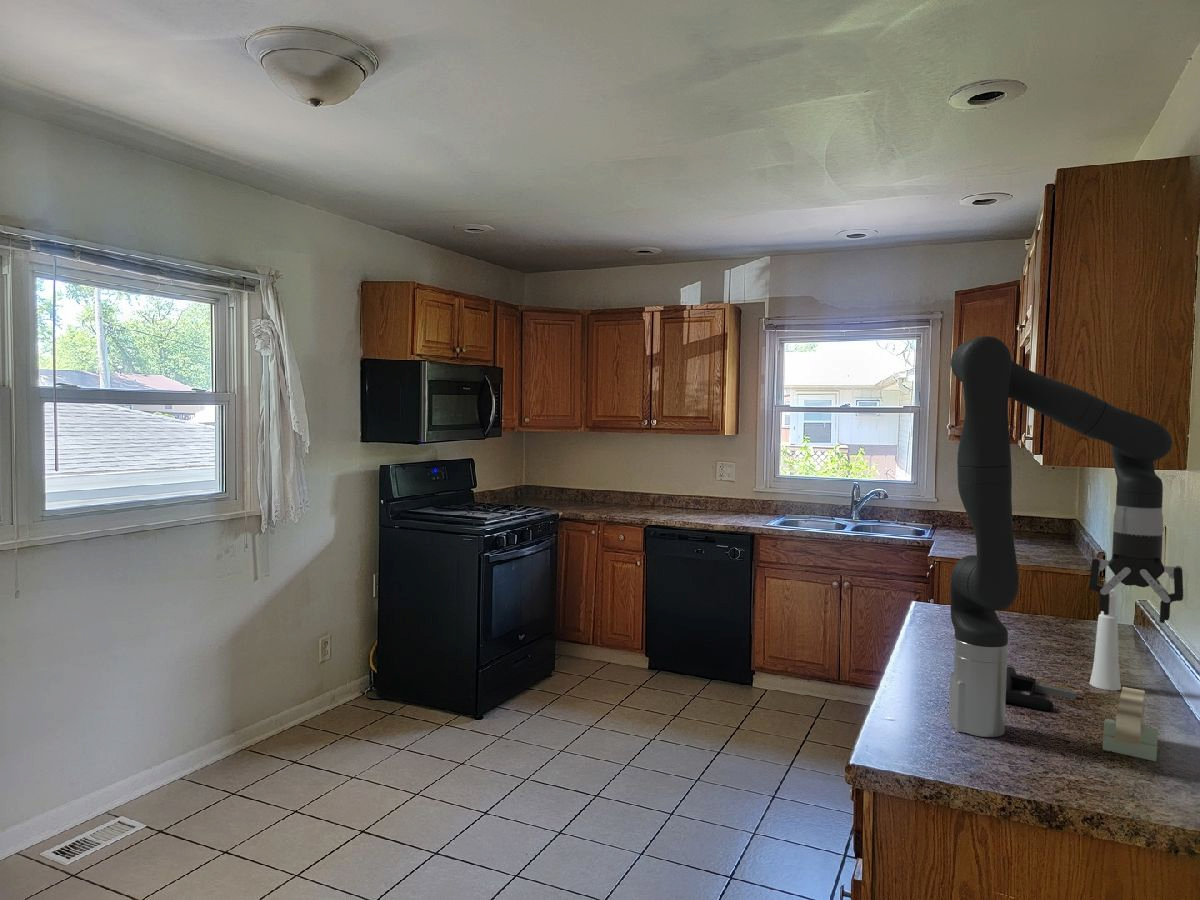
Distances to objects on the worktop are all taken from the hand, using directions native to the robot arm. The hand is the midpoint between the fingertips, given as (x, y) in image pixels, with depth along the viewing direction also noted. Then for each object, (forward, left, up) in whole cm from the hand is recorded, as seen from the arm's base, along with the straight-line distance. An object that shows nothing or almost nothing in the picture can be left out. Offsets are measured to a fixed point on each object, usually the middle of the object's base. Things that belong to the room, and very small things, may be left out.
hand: (1133, 618), depth 145 cm
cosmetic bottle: (+10, +34, -24) cm, 43 cm away
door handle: (-8, +24, -24) cm, 35 cm away
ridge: (-1, -4, -24) cm, 24 cm away
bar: (-2, -4, -19) cm, 19 cm away
